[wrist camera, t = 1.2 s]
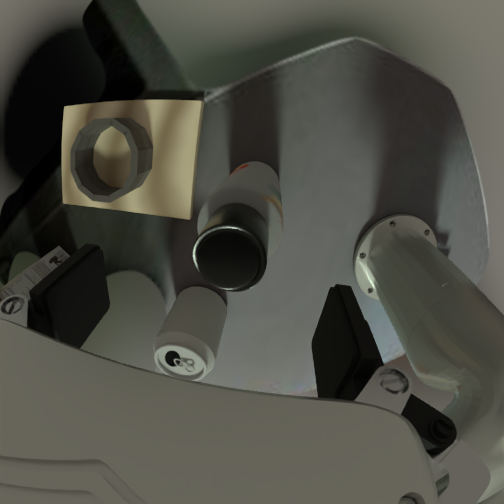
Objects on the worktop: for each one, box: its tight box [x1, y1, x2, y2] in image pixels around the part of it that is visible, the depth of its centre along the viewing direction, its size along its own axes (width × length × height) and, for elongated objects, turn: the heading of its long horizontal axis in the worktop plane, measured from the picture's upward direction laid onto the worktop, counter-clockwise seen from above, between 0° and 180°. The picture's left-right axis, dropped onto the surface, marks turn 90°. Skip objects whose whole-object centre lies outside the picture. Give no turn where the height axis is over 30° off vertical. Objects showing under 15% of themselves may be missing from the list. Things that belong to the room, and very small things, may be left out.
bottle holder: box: [62, 100, 204, 220], centre depth 29 cm, size 20×14×5 cm
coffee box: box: [0, 246, 70, 303], centre depth 32 cm, size 9×6×16 cm
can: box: [153, 287, 227, 381], centre depth 34 cm, size 8×8×12 cm
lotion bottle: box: [192, 161, 283, 292], centre depth 23 cm, size 6×6×20 cm
